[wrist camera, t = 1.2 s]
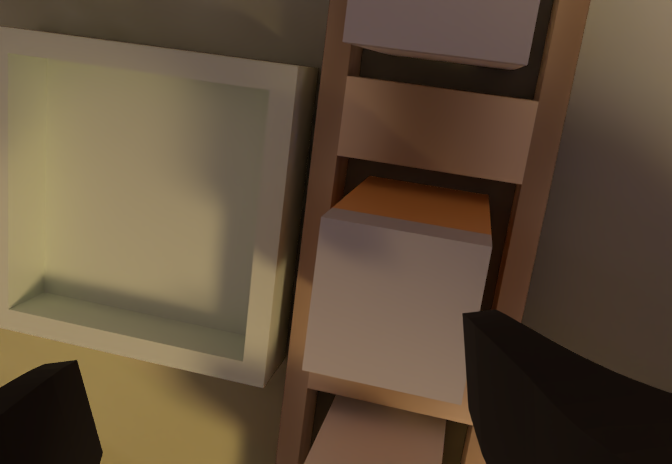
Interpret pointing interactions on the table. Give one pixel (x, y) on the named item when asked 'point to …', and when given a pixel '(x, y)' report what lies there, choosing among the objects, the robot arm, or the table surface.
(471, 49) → the white fuse
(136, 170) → the tray
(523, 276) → the rack
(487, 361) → the robot arm
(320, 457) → the block
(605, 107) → the table surface
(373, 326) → the block
